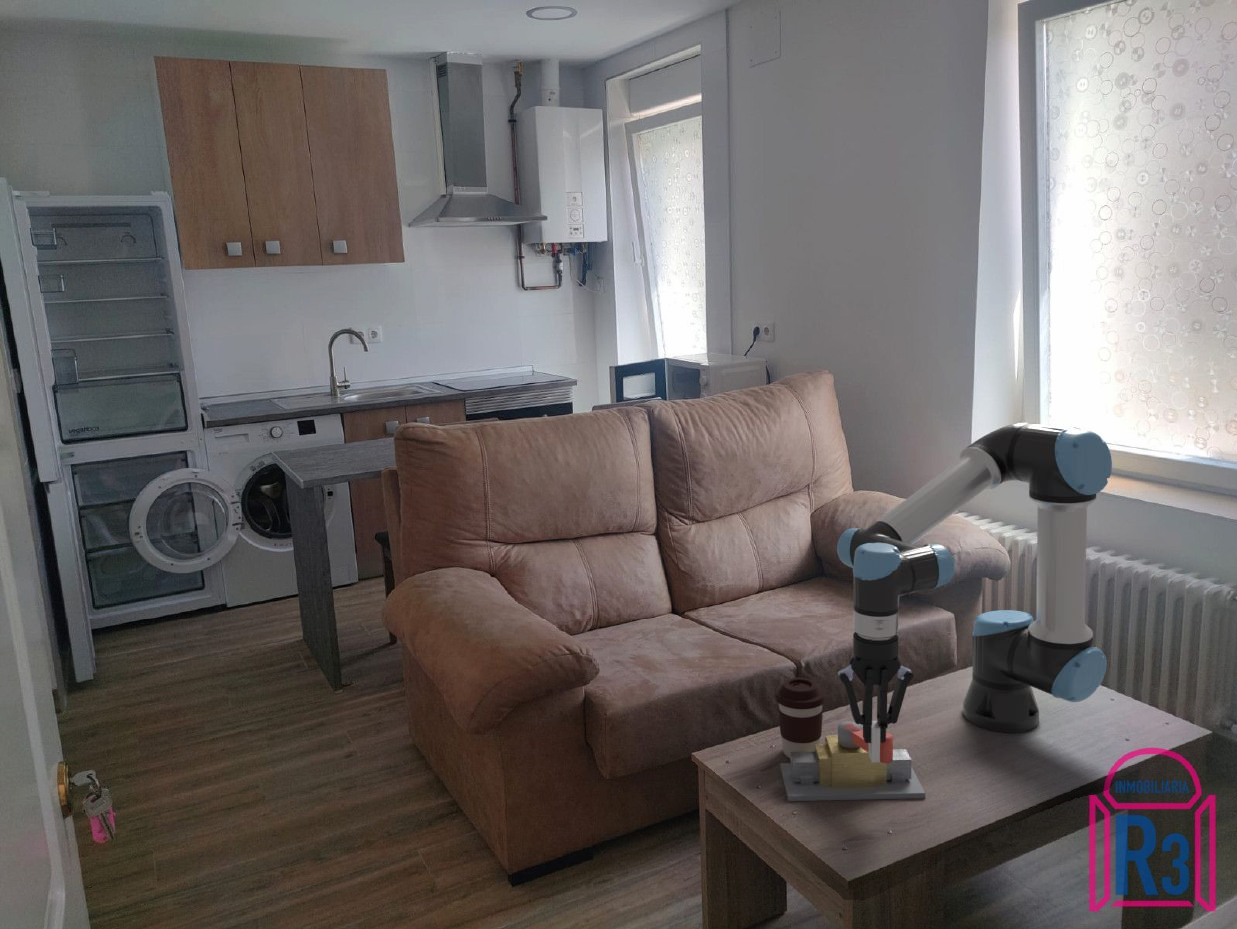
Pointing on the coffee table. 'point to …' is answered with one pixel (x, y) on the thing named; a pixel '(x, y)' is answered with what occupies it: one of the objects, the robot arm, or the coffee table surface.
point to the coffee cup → (800, 714)
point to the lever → (853, 738)
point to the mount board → (850, 789)
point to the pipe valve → (847, 766)
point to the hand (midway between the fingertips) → (874, 758)
